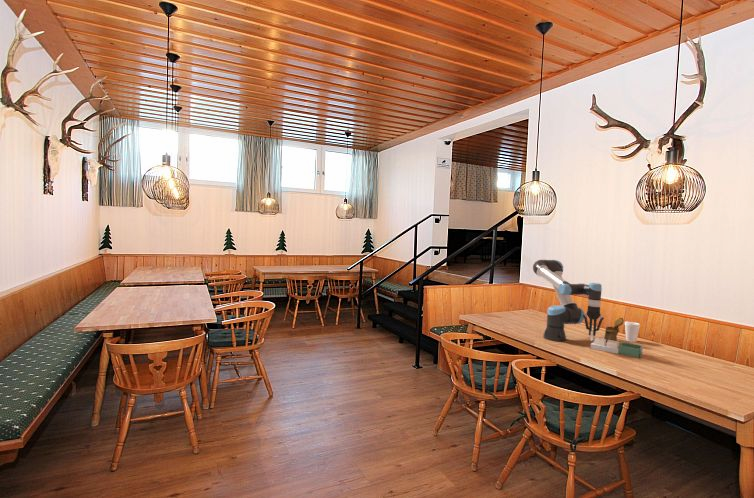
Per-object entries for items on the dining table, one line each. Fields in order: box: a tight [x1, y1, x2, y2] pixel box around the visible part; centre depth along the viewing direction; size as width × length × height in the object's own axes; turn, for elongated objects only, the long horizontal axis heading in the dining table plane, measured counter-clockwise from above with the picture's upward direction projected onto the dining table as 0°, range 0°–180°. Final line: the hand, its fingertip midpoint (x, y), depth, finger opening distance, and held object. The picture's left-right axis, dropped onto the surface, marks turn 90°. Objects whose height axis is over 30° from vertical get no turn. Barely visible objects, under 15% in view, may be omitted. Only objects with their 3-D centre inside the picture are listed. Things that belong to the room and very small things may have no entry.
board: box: [590, 340, 621, 355], centre depth 272 cm, size 16×12×3 cm
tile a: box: [593, 337, 606, 345], centre depth 274 cm, size 6×6×3 cm
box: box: [617, 341, 644, 359], centre depth 263 cm, size 12×12×6 cm
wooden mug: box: [603, 317, 625, 343], centre depth 288 cm, size 9×14×18 cm, turn 104°
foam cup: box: [624, 321, 641, 343], centre depth 298 cm, size 10×9×13 cm
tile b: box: [607, 340, 620, 348], centre depth 269 cm, size 6×6×3 cm
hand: (591, 340), depth 277 cm, fingers closed
